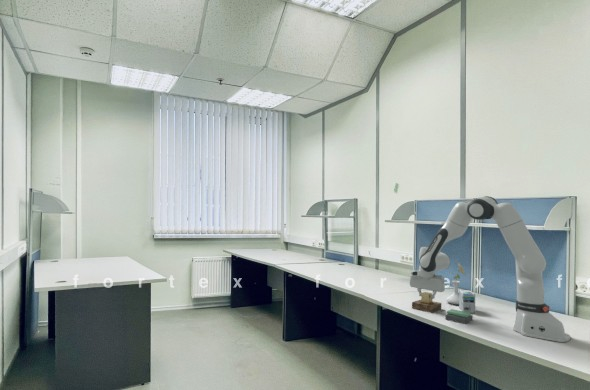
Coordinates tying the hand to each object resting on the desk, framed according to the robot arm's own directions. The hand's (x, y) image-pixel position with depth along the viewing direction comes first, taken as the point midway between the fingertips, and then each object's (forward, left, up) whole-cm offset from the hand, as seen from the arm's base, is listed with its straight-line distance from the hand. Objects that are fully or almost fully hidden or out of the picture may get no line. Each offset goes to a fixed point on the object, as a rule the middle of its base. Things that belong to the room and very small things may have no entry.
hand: (426, 297), depth 217 cm
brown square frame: (0, 0, -7) cm, 7 cm away
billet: (0, 0, -6) cm, 6 cm away
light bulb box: (-17, -15, -7) cm, 24 cm away
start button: (-22, +8, -6) cm, 24 cm away
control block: (-22, +8, -7) cm, 24 cm away
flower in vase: (-6, -27, -7) cm, 28 cm away
